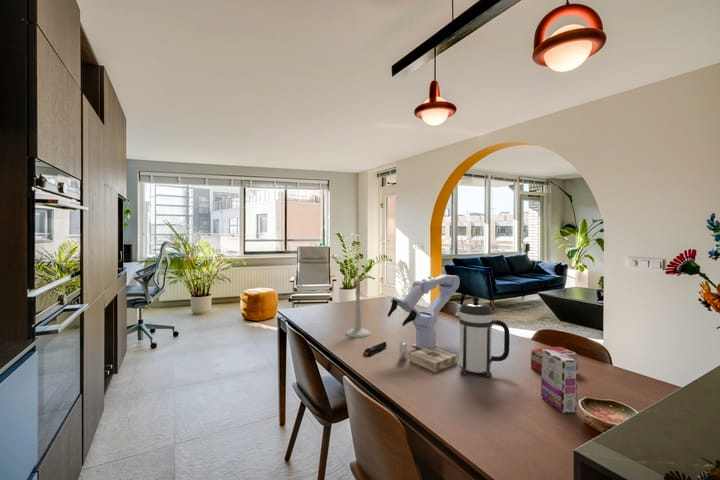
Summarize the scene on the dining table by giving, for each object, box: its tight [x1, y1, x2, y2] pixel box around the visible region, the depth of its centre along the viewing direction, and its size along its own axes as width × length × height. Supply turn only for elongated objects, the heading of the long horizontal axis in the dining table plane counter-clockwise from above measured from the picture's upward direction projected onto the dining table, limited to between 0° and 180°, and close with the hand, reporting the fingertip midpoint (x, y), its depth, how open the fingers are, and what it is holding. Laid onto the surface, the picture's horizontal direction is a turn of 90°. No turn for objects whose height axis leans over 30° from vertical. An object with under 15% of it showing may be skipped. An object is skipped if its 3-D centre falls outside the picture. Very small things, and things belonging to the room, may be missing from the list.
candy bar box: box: [540, 349, 579, 414], centre depth 111 cm, size 11×5×16 cm, turn 5°
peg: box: [399, 342, 408, 362], centre depth 149 cm, size 3×3×7 cm
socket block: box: [409, 346, 458, 373], centre depth 146 cm, size 14×14×4 cm
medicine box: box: [530, 346, 578, 374], centre depth 139 cm, size 15×8×8 cm, turn 105°
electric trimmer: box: [363, 341, 388, 357], centre depth 159 cm, size 4×16×3 cm, turn 141°
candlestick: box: [345, 278, 371, 339], centre depth 185 cm, size 13×13×30 cm
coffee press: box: [455, 296, 510, 379], centre depth 137 cm, size 17×16×30 cm
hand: (395, 320), depth 151 cm, fingers open, 7 cm apart
